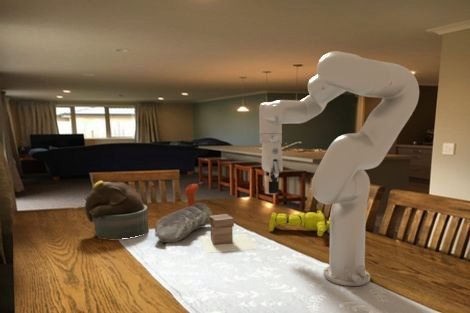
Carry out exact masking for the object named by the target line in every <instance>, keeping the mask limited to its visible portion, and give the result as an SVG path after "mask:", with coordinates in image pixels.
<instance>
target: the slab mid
mask: <svg viewBox="0 0 470 313" xmlns="http://www.w3.org/2000/svg"><path fill="white" fill-rule="evenodd" d="M211 233H212V235H213V237H216V236H232V235H234V234H233V227H226V228H218V229H215V228H214V227H212V226H211V225H210V234H211Z"/></svg>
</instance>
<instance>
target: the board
mask: <svg viewBox="0 0 470 313" xmlns="http://www.w3.org/2000/svg"><path fill="white" fill-rule="evenodd" d="M200 240H201V242H202V246H203V249H204V251H205V254H210V253H212V254H213V253H222V252H223V253H224V252H237V251H249V250H250V251H251V250H258V249H259V248H258V246H256V244H255V243H254V242H253V240H252V238H250V236H249V235H248V234H247V233H240V234H233V244H220V245H213V243H212V241H211V235H209V236H208V235H207V236H200Z"/></svg>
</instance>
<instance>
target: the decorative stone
mask: <svg viewBox="0 0 470 313" xmlns="http://www.w3.org/2000/svg"><path fill="white" fill-rule="evenodd" d="M209 216H213V212H212V211H211V208H210V207H209V206H208V205H207V204H205V203H195V204H194V205H192V206H190V207H188V206H187V207H183V208H181V209H179V210H176V211H174V212H172V213H170V214H167V215H164V216H163V217H161V218H160V219H159V220H157V222H156V223H155V226H154V227H155V229H154V236H155V237H156V238H158V240H159V241H160V242H162V243H164V244H165V243H177V242H181V241H182V240H183V239H184V238H186V237H189V235H190V234H191V233H192V232H194V231H197V230H199V229H200V228H203V227H205V226H206V225H207V224H209Z"/></svg>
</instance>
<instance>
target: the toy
mask: <svg viewBox="0 0 470 313" xmlns="http://www.w3.org/2000/svg"><path fill="white" fill-rule="evenodd" d="M276 225H281V226H285V225H286V226H289V225H290V226H291V227H293V226H294V227H297V226H301V227H304V229H306V230H309V231H317V234H316V235H317V236H318V237H322V236H323V235H324V232H327V233H329V234H330V216H329V218H328V220H327V221H326V217H325V214H324V213H323V212H322V211H321V210H317V211H316V212H310V211H309V212H306V213H305V212H300V213H292V214H289V215H288V214H286V213H281V212H280V213H277V212H272V213H271V215H270V220H269V232H271V233H272V232H273V231H274V230H275V227H276Z"/></svg>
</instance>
